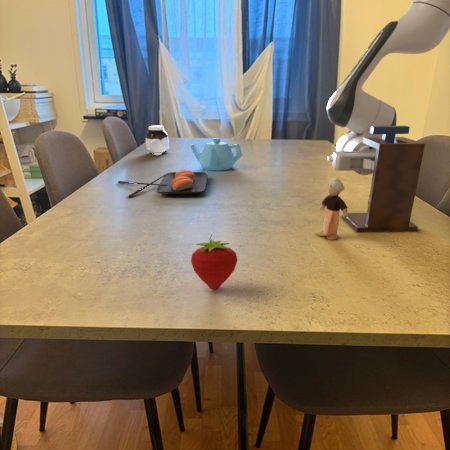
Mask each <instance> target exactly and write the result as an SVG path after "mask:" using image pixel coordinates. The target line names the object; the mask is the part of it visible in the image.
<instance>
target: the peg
mask: <svg viewBox="0 0 450 450" xmlns="http://www.w3.org/2000/svg"><path fill="white" fill-rule="evenodd" d="M410 128H411V127H410V126H409V125H396V126H371V127H370V133H371V134H382V140H385V141H387V142H390V143H394V141H395V137H396V135H409V133H410ZM368 204H369V199H367V205H368Z"/></svg>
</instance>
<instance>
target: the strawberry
mask: <svg viewBox="0 0 450 450" xmlns="http://www.w3.org/2000/svg"><path fill="white" fill-rule="evenodd" d="M212 236H213V234H211V235H210V237H209V240H208V241H209V242H202V243H199V242H198V243H196V246H200V247H198V248H196V249H195V250H194V251H193V252H192V254H191V258H190V263H191V266H192V269H193V271H194V273H195V274H196V275H197V276H198V277H199V279H200V280H201V281H202V282H203V283H204V284H206V286H207V287H208V288H209V289H211V290H213V291H216V290H218V289H219V288H220V287H221V285H223V284H224V283H226V281H227V280H228V279H229V278H230V276H231V275H232V274H233V273H234V271H235V269H236V266H237V263H238V256H237V253H236V252H235V250H233V249H232V248H230V247H228V246H227V245H230V242H222V240H216V241H214V240H213V239H212Z"/></svg>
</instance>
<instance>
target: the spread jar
mask: <svg viewBox="0 0 450 450" xmlns="http://www.w3.org/2000/svg"><path fill="white" fill-rule="evenodd" d="M145 147H146V150H147V151H148V150H149V151H150V152H149V151H148V152H149V154H151V152H163V153H164V154H166V153H167V152H168V151H169V149H170V140H169V135H168V133H167V132H166V131H165V126H164V125H149V126H148V131H147V133H146V134H145ZM165 150H168V151H165ZM164 151H165V152H164ZM151 155H153V156H161V155H163V154H162V153H154V154H153V153H152V154H151Z"/></svg>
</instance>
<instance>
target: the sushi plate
mask: <svg viewBox="0 0 450 450" xmlns="http://www.w3.org/2000/svg"><path fill="white" fill-rule="evenodd" d="M159 180H161V181H160V183H156V182H157V181H159ZM207 181H208V173H207V172H205V171H191V170H187V169H185V170H180V171H173V172H171V171H170V172H167V173H165V174H163V175H162V176H160V177H158V178H157V179H155V180H153V181H151V182H150V183H148V182H137V181H136V182H135V181H133V182H134V183H137V184H136V185H145V186H142V187H140V189H141V190H139V189H137V190H136V191H134V192H132V193H130V194H129V195H128V196H127V197H128V198H129V199H130V198H132V197H134V196H135V195H137V194H139V193H140V192H143V190H145V189H146V188H148V187H150V186H158V187H157V188H156V192H157V193H158V194H164V195H166V194H167V195H168V196H171V197H189V196H190V197H191V196H195V195H197V194H201V193H204V192H205V191H206V190H207V189H206V188H207ZM129 182H130V181H125V180H118V181H117V183H118V184H129V185H135V184H134V183H129ZM147 186H148V187H147ZM145 187H146V188H145ZM142 188H143V189H142Z"/></svg>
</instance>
